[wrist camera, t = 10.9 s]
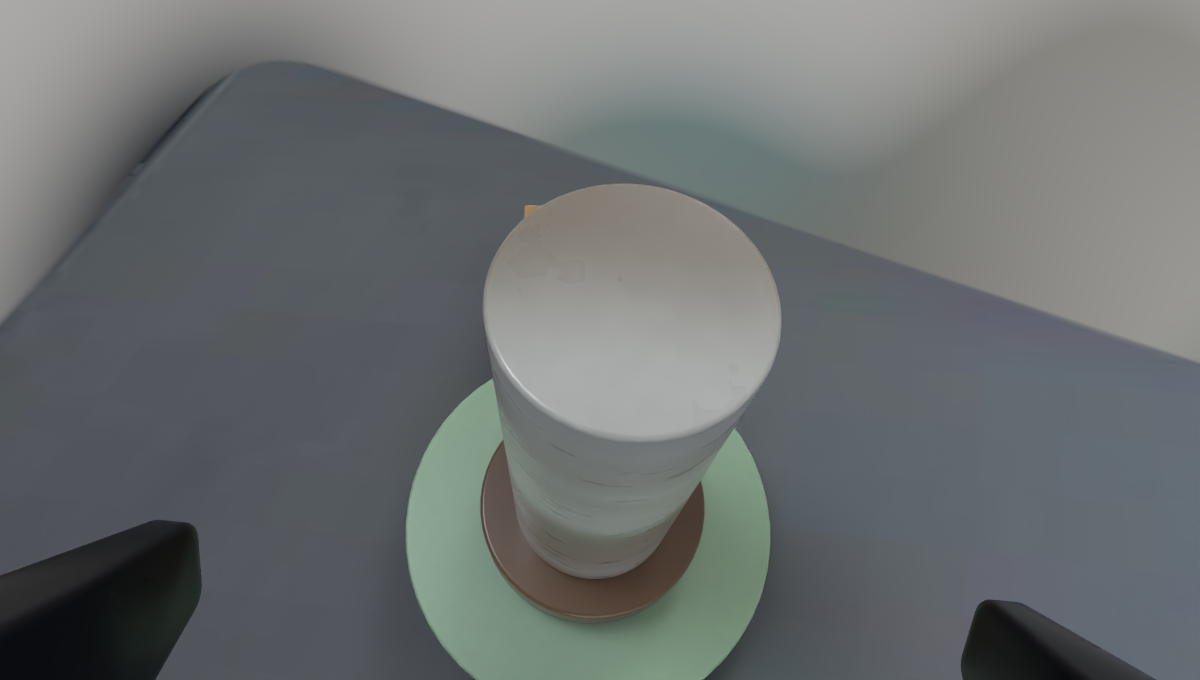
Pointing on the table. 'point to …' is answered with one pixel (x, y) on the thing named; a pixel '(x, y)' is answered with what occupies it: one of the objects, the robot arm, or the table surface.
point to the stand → (558, 647)
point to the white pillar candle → (616, 390)
